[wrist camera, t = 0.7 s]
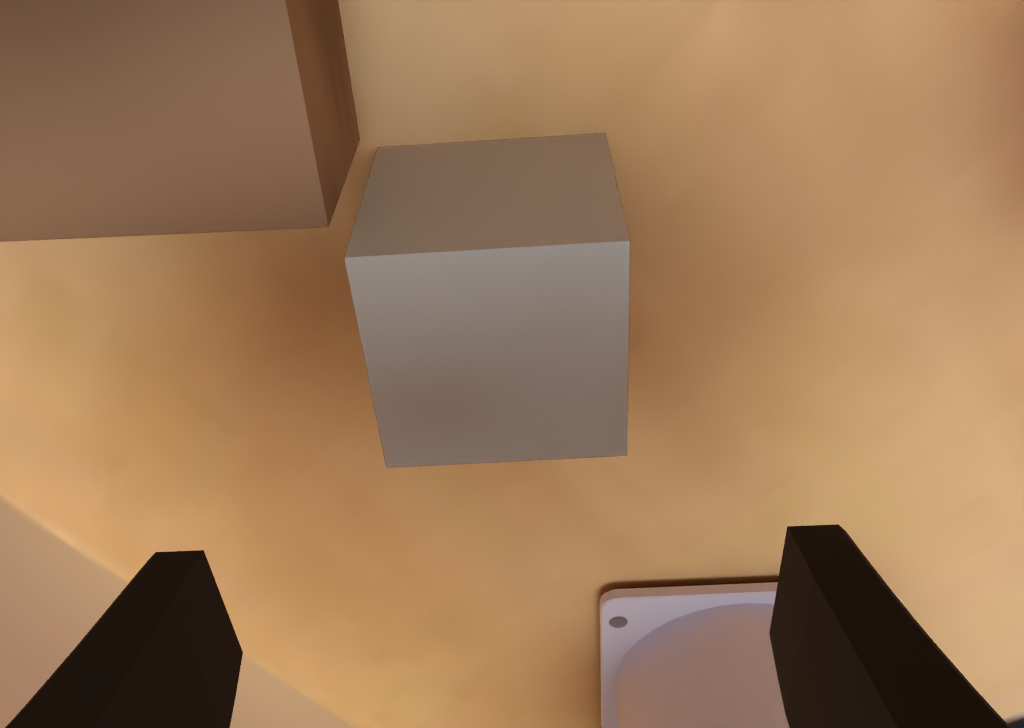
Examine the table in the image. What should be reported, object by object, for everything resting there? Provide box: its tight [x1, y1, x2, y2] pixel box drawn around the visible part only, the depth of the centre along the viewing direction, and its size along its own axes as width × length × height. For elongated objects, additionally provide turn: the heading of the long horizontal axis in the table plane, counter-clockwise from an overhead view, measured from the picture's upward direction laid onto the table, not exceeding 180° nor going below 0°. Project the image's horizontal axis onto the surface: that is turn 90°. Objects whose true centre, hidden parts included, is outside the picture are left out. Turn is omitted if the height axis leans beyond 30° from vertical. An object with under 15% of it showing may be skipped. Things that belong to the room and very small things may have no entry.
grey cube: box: [344, 133, 630, 468], centre depth 17 cm, size 4×4×4 cm
